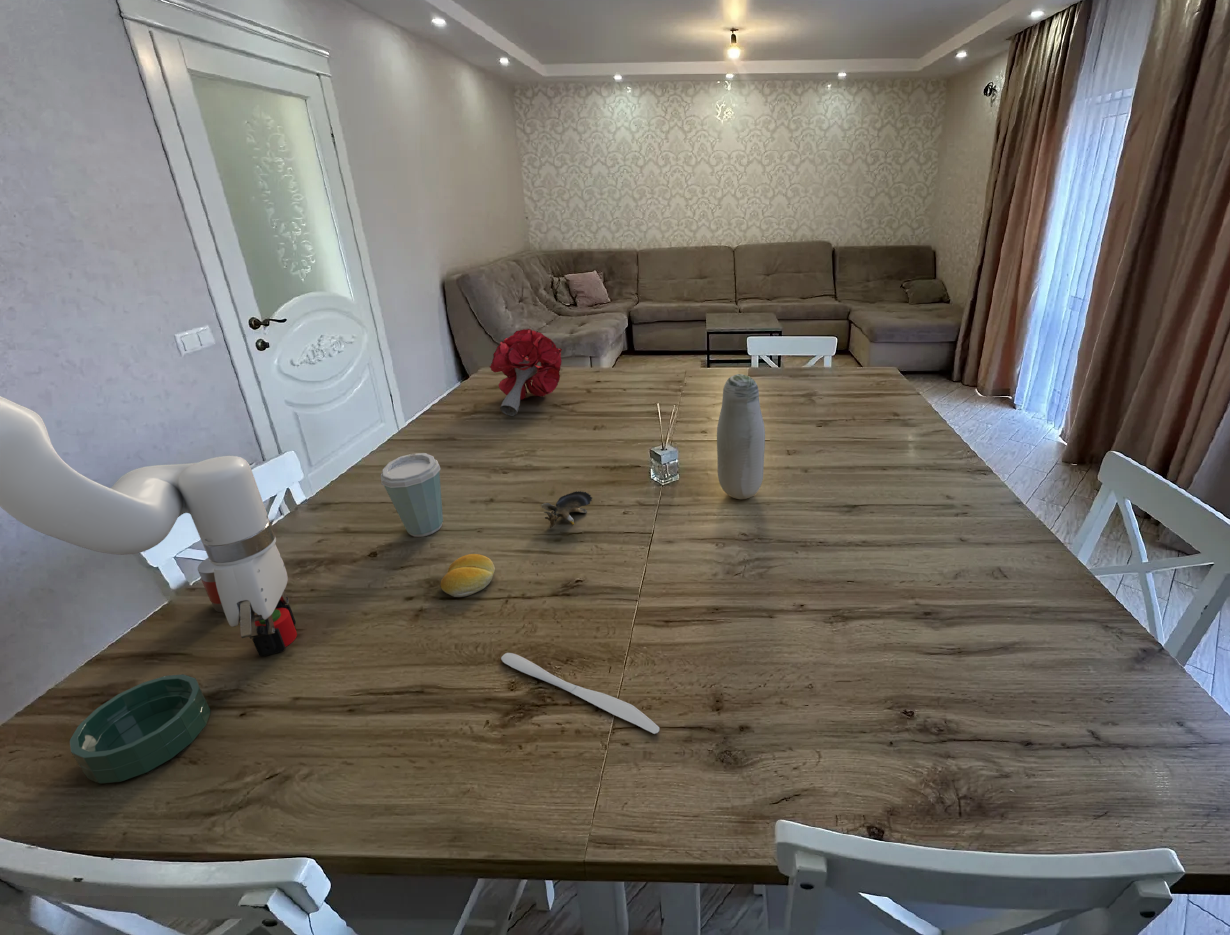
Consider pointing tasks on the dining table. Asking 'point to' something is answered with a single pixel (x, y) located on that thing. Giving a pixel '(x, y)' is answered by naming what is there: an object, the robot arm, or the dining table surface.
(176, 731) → the bowl
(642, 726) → the butter knife
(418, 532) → the disposable coffee cup
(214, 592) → the can
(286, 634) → the red short cylinder
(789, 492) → the dining table surface
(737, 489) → the white bottle
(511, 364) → the bouquet
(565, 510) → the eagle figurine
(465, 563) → the bread roll
